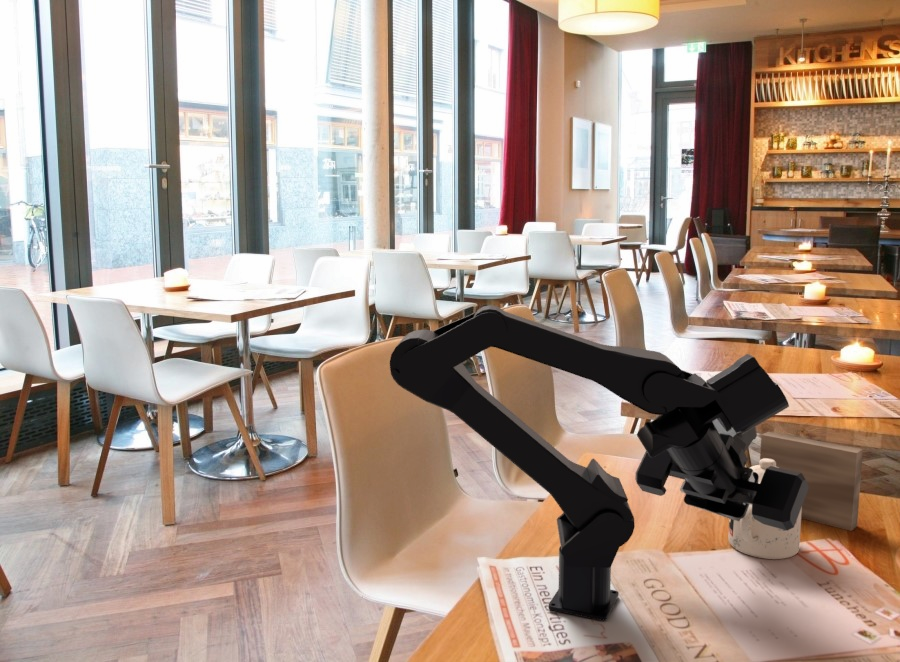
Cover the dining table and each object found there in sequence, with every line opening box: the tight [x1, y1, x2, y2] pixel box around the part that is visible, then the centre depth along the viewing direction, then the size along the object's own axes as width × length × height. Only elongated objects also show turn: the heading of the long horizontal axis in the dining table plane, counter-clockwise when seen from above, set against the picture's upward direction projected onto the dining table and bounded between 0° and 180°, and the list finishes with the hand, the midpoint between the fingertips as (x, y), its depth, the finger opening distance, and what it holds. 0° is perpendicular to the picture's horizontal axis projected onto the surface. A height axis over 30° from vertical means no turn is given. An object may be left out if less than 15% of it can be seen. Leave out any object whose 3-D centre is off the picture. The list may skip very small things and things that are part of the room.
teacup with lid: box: [727, 458, 802, 560], centre depth 102 cm, size 12×9×12 cm
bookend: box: [759, 431, 864, 532], centre depth 113 cm, size 2×13×11 cm, turn 46°
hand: (737, 516), depth 96 cm, fingers closed
